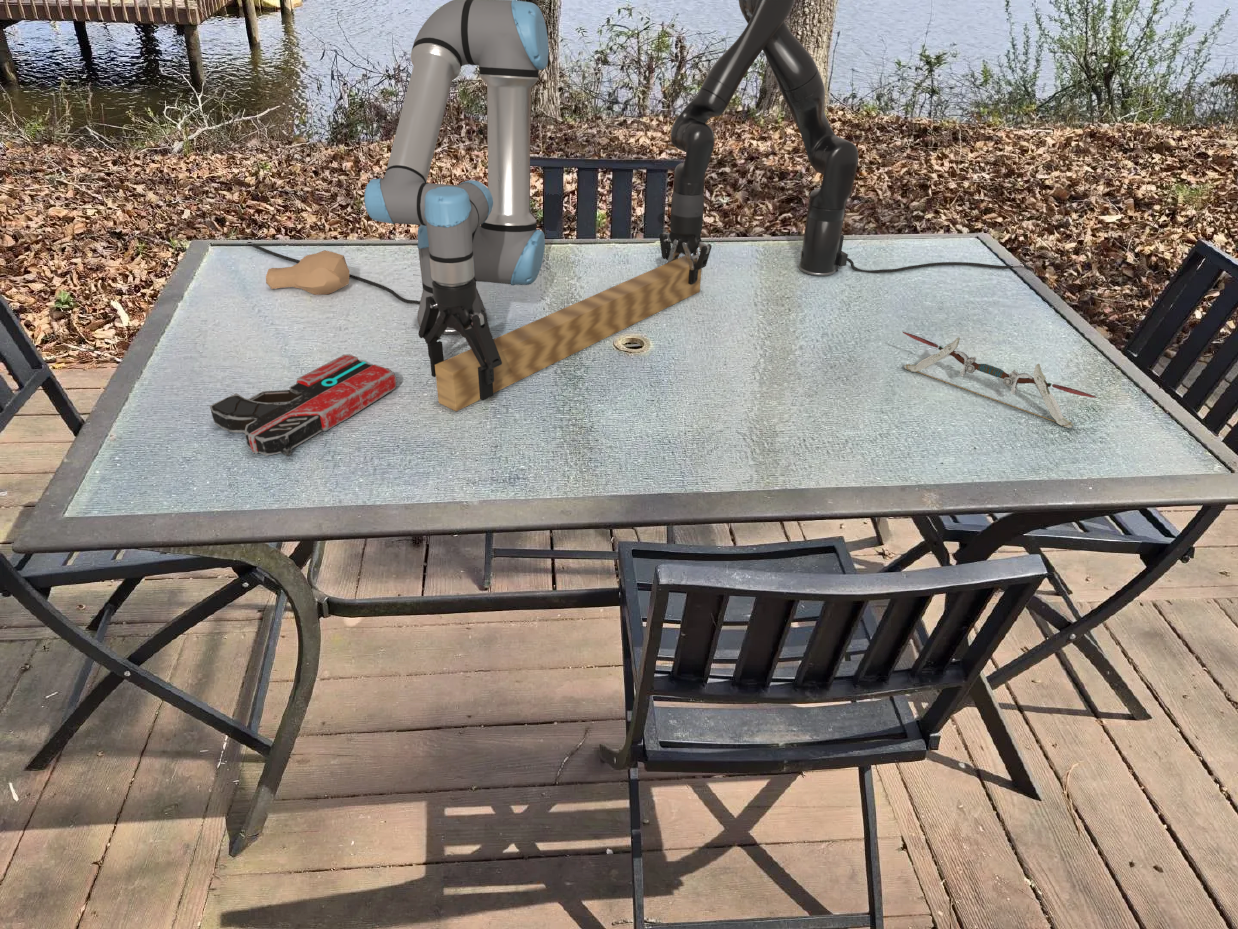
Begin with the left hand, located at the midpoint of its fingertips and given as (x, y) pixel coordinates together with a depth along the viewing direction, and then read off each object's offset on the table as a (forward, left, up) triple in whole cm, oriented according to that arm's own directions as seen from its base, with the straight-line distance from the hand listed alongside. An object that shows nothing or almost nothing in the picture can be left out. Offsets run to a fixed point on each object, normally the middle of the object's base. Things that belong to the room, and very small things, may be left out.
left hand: (462, 385), depth 166 cm
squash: (-68, +4, -3) cm, 68 cm away
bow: (+67, +77, -3) cm, 102 cm away
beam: (-4, +35, -3) cm, 36 cm away
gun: (-16, -24, -3) cm, 29 cm away
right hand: (-7, +70, 0) cm, 71 cm away
